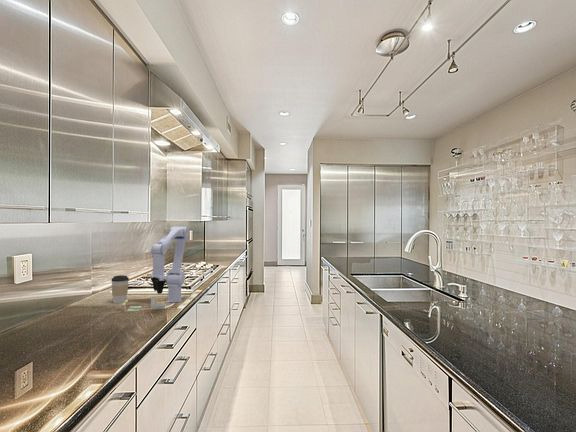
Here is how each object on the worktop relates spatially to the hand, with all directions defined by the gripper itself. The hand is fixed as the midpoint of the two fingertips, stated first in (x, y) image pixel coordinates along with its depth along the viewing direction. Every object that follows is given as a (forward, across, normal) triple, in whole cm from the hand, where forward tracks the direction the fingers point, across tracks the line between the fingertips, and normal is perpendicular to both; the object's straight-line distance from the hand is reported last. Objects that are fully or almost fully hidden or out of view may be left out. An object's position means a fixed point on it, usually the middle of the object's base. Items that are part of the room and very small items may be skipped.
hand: (157, 292), depth 172 cm
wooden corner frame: (+10, -9, -8) cm, 15 cm away
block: (+10, -3, +1) cm, 10 cm away
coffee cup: (+10, -28, -15) cm, 33 cm away
